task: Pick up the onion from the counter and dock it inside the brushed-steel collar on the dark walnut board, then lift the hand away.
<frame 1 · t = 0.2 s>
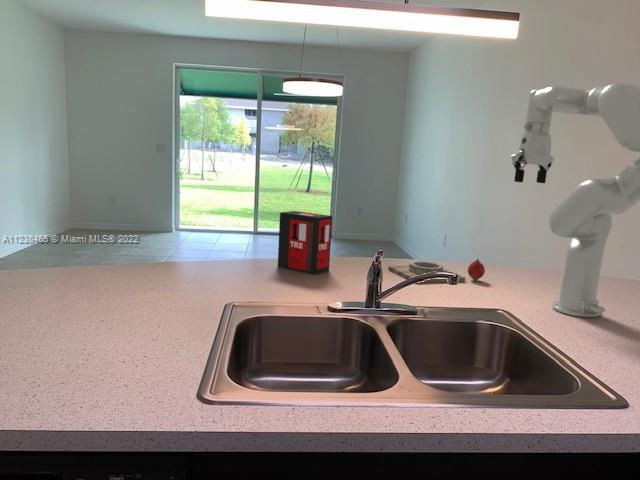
hand: (529, 182, 165), 36 cm above the worktop, tool pointing down, fingers open, 9 cm apart
cleaning product box: (303, 269, 183), on the worktop
onion: (474, 281, 180), on the worktop
cradle: (425, 275, 183), on the worktop
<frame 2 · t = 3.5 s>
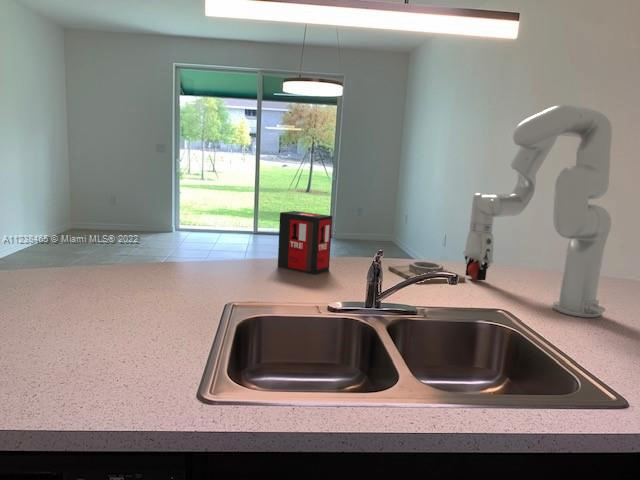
hand: (475, 277, 180), 1 cm above the worktop, tool pointing down, fingers closed on onion, 5 cm apart
onion: (474, 281, 180), on the worktop, touching gripper
everything else where it was.
when the fingers open (5 cm above the worktop, at t = 9.4 s): onion drops 2 cm, resting on cradle.
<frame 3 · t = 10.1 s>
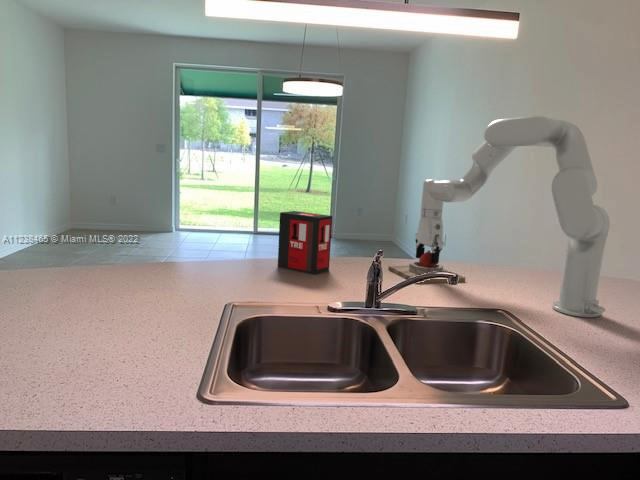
hand: (426, 260, 182), 6 cm above the worktop, tool pointing down, fingers open, 9 cm apart
onion: (425, 271, 183), point 1 cm above the worktop, touching cradle
everything else where it was.
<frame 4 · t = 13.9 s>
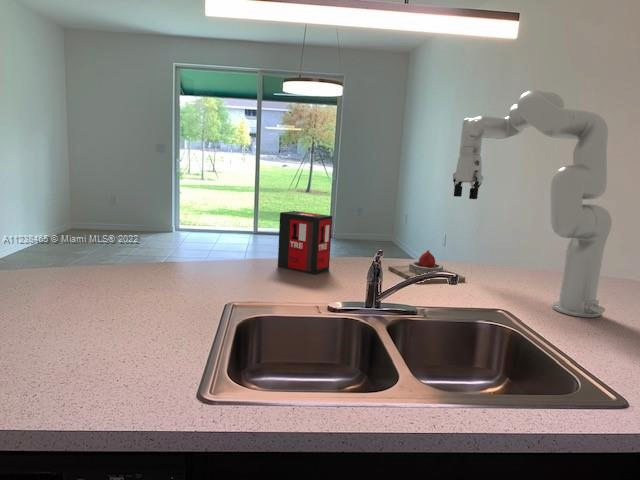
hand: (465, 197, 190), 28 cm above the worktop, tool pointing down, fingers open, 9 cm apart
nothing on the worktop moved.
at the end: onion 0.1 cm off-centre on the cradle, point 1.3 cm above the cradle's base; the gripper is holding nothing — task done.
